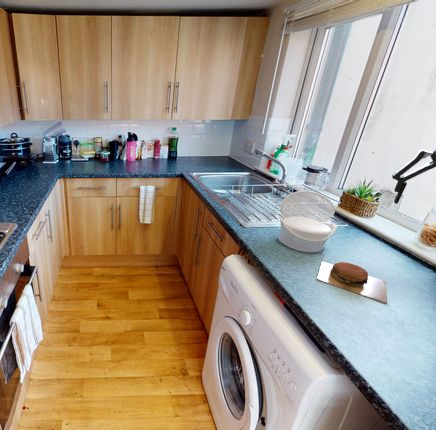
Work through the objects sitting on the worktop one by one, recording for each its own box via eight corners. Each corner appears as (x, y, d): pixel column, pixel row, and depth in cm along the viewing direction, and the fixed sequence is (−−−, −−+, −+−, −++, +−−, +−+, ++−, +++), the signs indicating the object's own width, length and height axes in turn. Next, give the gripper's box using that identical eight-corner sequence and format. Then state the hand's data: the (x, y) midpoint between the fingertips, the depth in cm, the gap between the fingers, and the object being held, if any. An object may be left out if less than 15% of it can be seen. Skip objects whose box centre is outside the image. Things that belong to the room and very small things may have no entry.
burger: (323, 269, 101) (328, 258, 99) (350, 270, 101) (355, 259, 99) (343, 288, 92) (349, 276, 90) (372, 288, 92) (378, 277, 90)
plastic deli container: (277, 249, 114) (291, 202, 106) (269, 227, 131) (281, 186, 123) (335, 258, 108) (354, 210, 100) (319, 235, 126) (334, 192, 117)
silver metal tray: (384, 281, 96) (385, 280, 96) (386, 304, 86) (387, 303, 86) (321, 262, 106) (321, 261, 106) (316, 279, 96) (316, 278, 96)
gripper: (402, 131, 81) (372, 201, 90) (545, 143, 67) (493, 224, 76) (400, 129, 87) (372, 194, 95) (532, 139, 72) (485, 215, 81)
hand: (425, 208), depth 86 cm, fingers open, 13 cm apart
